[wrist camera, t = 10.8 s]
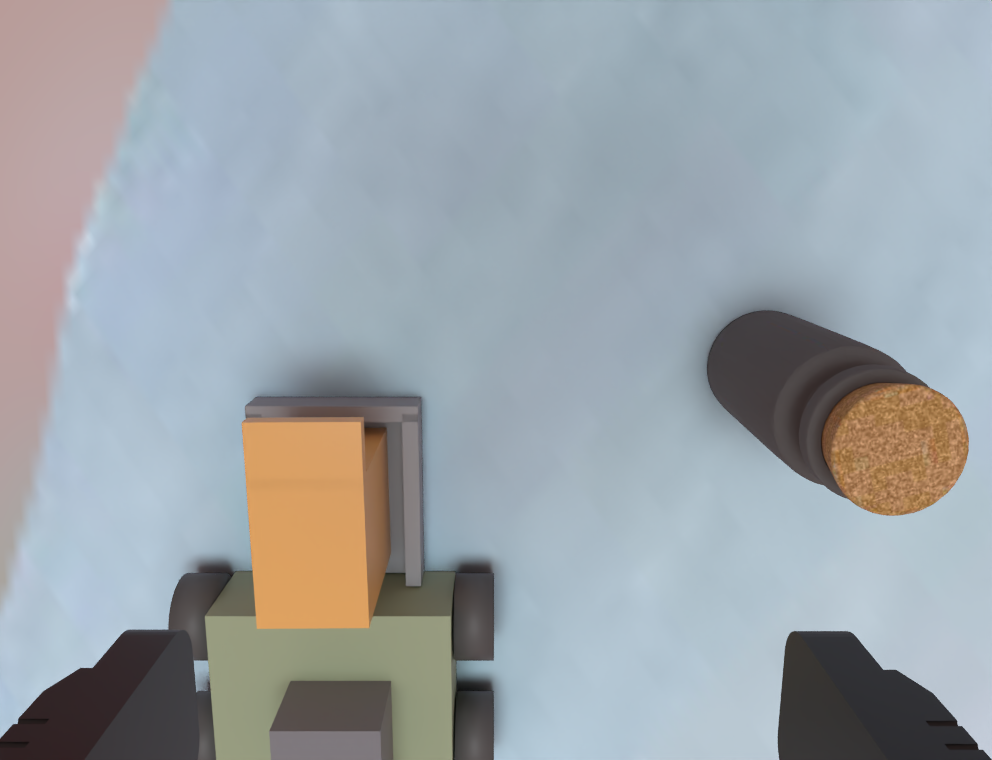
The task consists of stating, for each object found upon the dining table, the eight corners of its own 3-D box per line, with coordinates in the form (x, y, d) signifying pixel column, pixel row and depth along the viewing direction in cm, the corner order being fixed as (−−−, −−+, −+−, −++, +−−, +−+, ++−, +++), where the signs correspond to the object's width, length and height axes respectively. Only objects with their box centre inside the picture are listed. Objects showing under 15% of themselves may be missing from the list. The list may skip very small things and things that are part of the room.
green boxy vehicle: (183, 396, 43) (103, 447, 34) (493, 397, 43) (494, 448, 34) (211, 743, 48) (147, 867, 39) (493, 743, 48) (493, 867, 39)
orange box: (287, 381, 43) (241, 422, 35) (385, 380, 43) (360, 421, 35) (298, 553, 45) (256, 628, 37) (391, 553, 45) (369, 628, 37)
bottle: (712, 306, 42) (828, 363, 28) (826, 312, 42) (1002, 374, 28) (699, 416, 44) (803, 527, 29) (810, 423, 44) (970, 537, 29)
